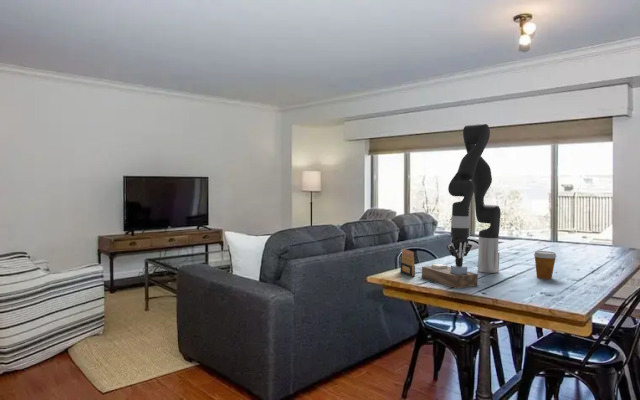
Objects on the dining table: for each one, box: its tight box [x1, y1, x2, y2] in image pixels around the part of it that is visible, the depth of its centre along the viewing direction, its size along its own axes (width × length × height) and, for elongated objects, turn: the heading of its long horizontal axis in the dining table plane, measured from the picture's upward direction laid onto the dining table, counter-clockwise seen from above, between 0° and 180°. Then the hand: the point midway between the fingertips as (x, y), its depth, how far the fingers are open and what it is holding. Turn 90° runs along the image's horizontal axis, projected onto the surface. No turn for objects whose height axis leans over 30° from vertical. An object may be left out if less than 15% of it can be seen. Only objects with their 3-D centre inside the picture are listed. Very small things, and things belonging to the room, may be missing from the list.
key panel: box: [421, 265, 479, 289], centre depth 195 cm, size 12×22×5 cm, turn 27°
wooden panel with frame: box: [399, 247, 416, 278], centre depth 208 cm, size 11×2×12 cm, turn 18°
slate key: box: [450, 264, 468, 275], centre depth 189 cm, size 5×5×4 cm
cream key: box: [431, 263, 448, 269], centre depth 200 cm, size 5×5×4 cm
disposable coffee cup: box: [533, 250, 557, 280], centre depth 205 cm, size 10×10×12 cm
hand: (458, 266), depth 189 cm, fingers closed
